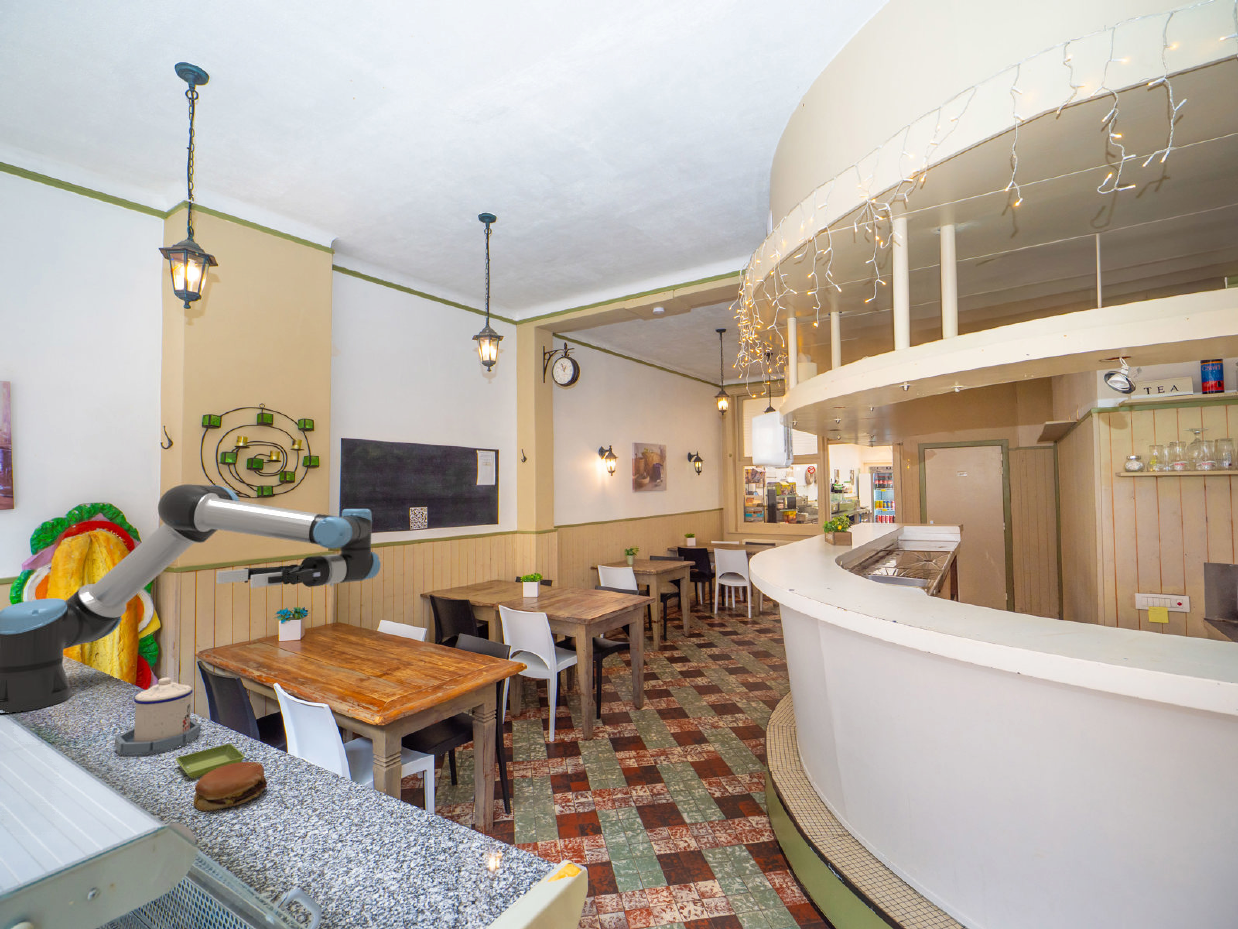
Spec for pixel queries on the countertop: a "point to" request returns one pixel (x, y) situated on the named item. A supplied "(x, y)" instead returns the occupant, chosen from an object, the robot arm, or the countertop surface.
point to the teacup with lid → (162, 711)
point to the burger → (229, 786)
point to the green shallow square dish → (209, 760)
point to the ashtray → (154, 742)
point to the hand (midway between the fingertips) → (233, 579)
